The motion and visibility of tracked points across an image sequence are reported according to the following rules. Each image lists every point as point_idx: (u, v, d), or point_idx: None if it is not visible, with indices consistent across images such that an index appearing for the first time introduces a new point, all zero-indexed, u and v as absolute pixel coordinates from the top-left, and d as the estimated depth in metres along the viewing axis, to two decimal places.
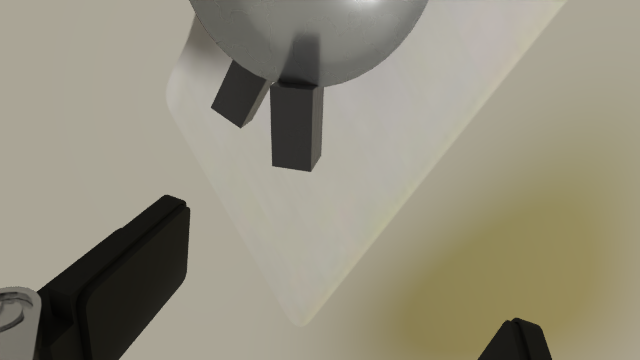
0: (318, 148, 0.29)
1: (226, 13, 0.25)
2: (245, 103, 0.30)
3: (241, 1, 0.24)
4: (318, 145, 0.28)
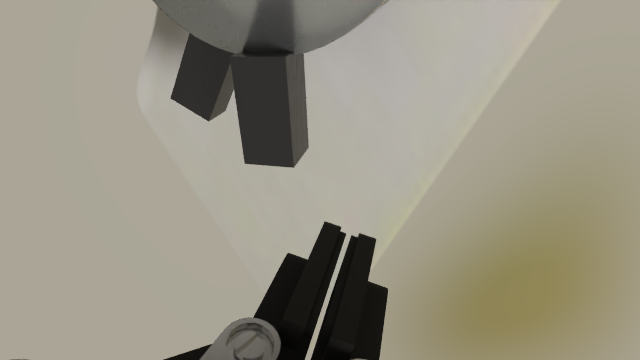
0: (303, 137, 0.22)
1: None
2: (211, 89, 0.24)
3: None
4: (302, 133, 0.22)
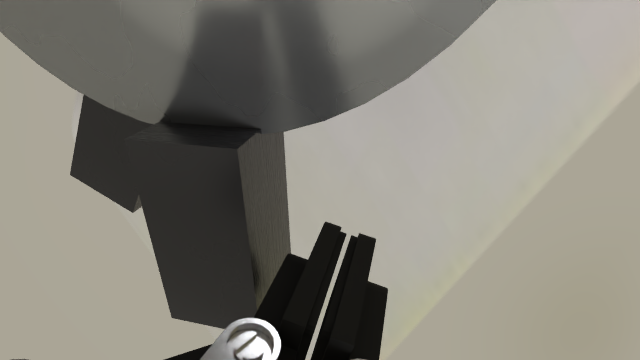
0: None
1: None
2: None
3: None
4: (280, 260, 0.12)
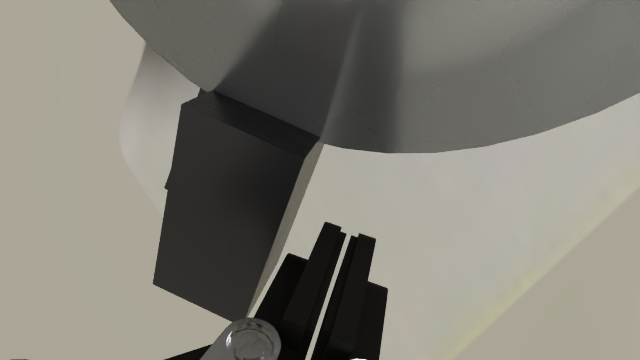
0: (275, 260, 0.12)
1: None
2: None
3: None
4: (277, 255, 0.12)
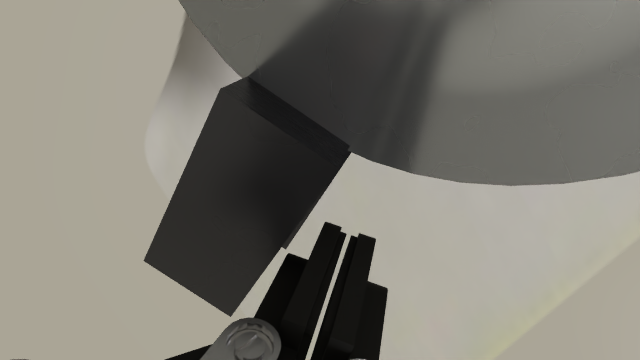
0: None
1: None
2: None
3: None
4: None
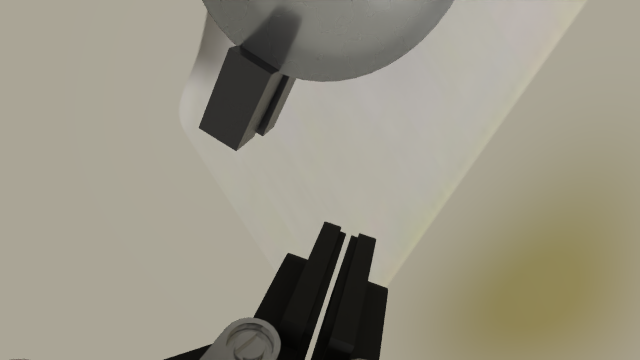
0: (253, 129, 0.27)
1: None
2: None
3: None
4: (255, 127, 0.27)
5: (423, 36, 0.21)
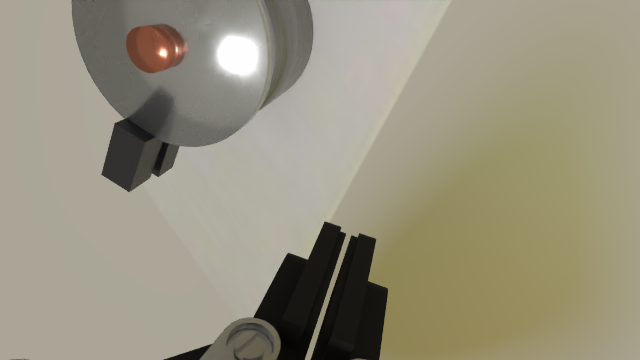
0: (146, 174, 0.36)
1: (100, 54, 0.31)
2: (158, 157, 0.37)
3: (114, 53, 0.30)
4: (146, 173, 0.36)
5: (244, 122, 0.30)
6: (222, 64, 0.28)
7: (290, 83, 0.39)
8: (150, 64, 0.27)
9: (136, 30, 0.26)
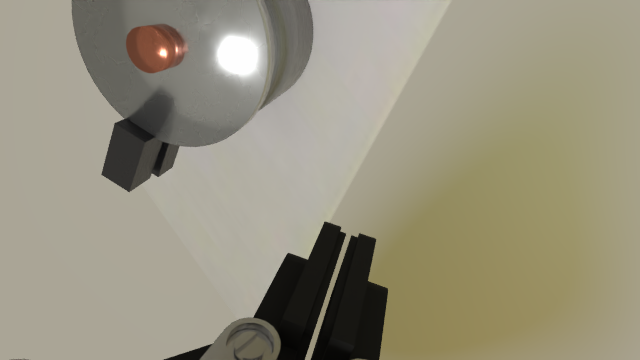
0: (146, 174, 0.36)
1: (100, 54, 0.31)
2: (158, 157, 0.37)
3: (114, 53, 0.30)
4: (146, 173, 0.36)
5: (244, 122, 0.30)
6: (222, 64, 0.28)
7: (290, 83, 0.39)
8: (150, 64, 0.27)
9: (136, 30, 0.26)
